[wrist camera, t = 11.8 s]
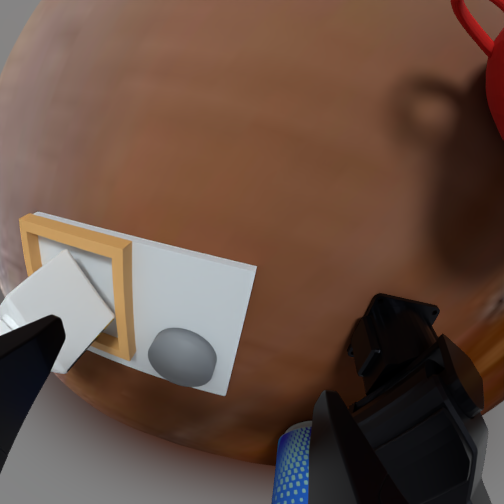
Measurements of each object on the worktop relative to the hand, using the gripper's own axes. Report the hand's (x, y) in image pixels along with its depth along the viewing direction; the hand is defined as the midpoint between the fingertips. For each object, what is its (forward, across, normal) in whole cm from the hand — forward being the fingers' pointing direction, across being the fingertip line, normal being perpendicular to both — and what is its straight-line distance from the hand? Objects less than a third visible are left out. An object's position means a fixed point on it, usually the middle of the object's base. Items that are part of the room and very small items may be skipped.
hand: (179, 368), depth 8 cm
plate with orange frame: (+13, +9, +10) cm, 19 cm away
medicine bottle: (+12, +14, +9) cm, 20 cm away
